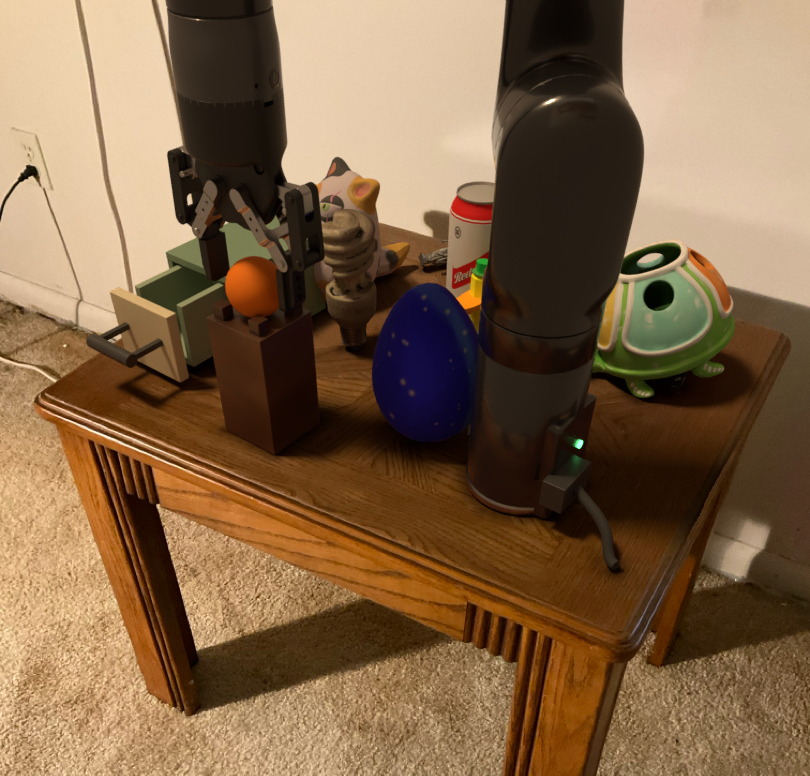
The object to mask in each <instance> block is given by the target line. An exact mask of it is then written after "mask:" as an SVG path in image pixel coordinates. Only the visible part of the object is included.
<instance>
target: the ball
mask: <svg viewBox="0 0 810 776" xmlns="http://www.w3.org/2000/svg"><path fill="white" fill-rule="evenodd" d="M277 269H278V268H277V266H276V265H275V264H274V263H272V262H271V261H269V260H268V259H266V258H263V257H259V256H249V257H245V258H242V259H240V260H238V261H237V262H236V263H235V264H234V265H233V266H232V267H231V268H230V270H229V272H228V274H227V276H226V281H225V289H226V295H227V297H228V300H229V302H230V303H231V305H232V306H233V307H234V308H235V309H236V310H237V311H238V312H239V313H241V314H243V315H245V316H247V317H251V318H252V317H254V316H256V315H260V316H262V317H267V316H269V315H271V314H273V313H274V312H275V311H276V310H277V309H278V308H279V301H278V291H277V281H276V271H275V270H277Z"/></svg>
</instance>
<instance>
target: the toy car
mask: <svg viewBox="0 0 810 776" xmlns="http://www.w3.org/2000/svg"><path fill="white" fill-rule="evenodd" d="M689 372H690V370H689V371H686V372H683V373H680V374H677V375H673V376H669V377H664V378H659V379H649V380H650V382H651V383H652V384H653V385H654V386H657V387H659V388H662V389H665V390H672V391H673V390H678V389H681V388H682V387H683V384H684V381H685V380H686V378H687V376H688V374H689Z"/></svg>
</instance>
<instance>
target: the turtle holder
mask: <svg viewBox="0 0 810 776" xmlns="http://www.w3.org/2000/svg"><path fill="white" fill-rule="evenodd" d="M651 254H658V255H660V256H659V257H658V258H656V259H654V260H652V261H648V262H647V261H646V262H639V261H640V260H641V259H643V258H644V257H646V256H648V255H651ZM733 310H734V300H733V298H732V296H731V295H730V292H729V289H728V286H727V284H726V282H725V280H724V278H723V277H722V275H721V273H720V272H719V270H718V269H717V267H715V266H714V265H713V263H712V262H711V261H709V260H708V259H707V257H705V256H704V255H702V254H701V253H700V252H698V251H696V250H695V249H692V248H690V247H688V246H687V244H685V242H684V241H682V240H680V239H675V238H674V239H673V238H669V239H664V240H663V239H662V240H659V241H654V242H650V243H648V244H644V245H641V246H639V247H636V248H634V249H631V250H629V251H626V252H625V255H624V259H623V264H622V268H621V271H620V275H619V278H618V281H617V284H616V286H615V288H614V290H613V291H612V293H611V294H610V296H609V297H608V299H607V302H606V307H605V312H604V316H603V321H602V326H601V331H600V336H599V341H598V346H597V351H596V355H595V360H594V366H593V371H592V374H594V373H595V374H597V373H604V374H609V375H611V376H613V377H616V378H620V379H623V380H625V385H626V388H627V389H628V390H629V392H630V393H631V394H632V396H634V397H636V398H639V399H646V398H647V399H648V398H651V397H653V396H654V395H655V390H654V389H653V387H652V386H650V385H649V384H648V383H646V381H647V380H648V381H649V380H650V379H659V378H664V377H669V376H673V375H677V374H680V373H683V372H686V371H689V372H691V374H692V375H694V376H695V377H698V378H713V377H715V376H717V375H720V374H722V373H723V372H724V370H725V366H724V365H723V364H721V363H719V362H716V361H715V362H714V361H710V360H711V359H713V358H714V357H716V355H718V354H719V353H720V352H721V351H723V350H724V349H725V348H726V347H727V346H728V345H729V344H730V342H731V341H732V339H733V337H734V335H735V332H736V331H735V330H736V321H735V317H734V315H733ZM645 380H646V381H645Z"/></svg>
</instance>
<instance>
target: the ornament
mask: <svg viewBox="0 0 810 776" xmlns="http://www.w3.org/2000/svg"><path fill="white" fill-rule="evenodd" d="M379 332H380V333H379V334H378V337H377V341H376V344H375V347H374V352H373V357H372V364H371V381H372V382H371V384H372V391H373V395H374V398H375V402H376V404H377V406H378V408H379V411H380V412H381V415H382V416H383V417H384V419H385V420H386V421H387V422H388V424H389V425H390V426H391V427H392V428H393V429H394V430H395V431H396V432H397V433H398V434H400V435H402V436H404V437H405V438H408V439H410V440H412V441H415V442H421V443H438V442H442V441H445V440H448V439H450V438H453V437H456V436H457V435H458V434H460V433H462V432H464V431H465V430H466V429H468V425H469V424H471V416H472V404H473V391H474V379H475V367H476V355H477V342H478V333H477V330H476V328H475V326H474V324H473V322H472V320H471V319H470V317H469V315H468V314H467V312H466V311H465V309H464V307H463V306H462V305H461V304H460V302H459V301H458V300H457V299H456V297H455V296H454V295H453V294H452V293H451V292H450V291H449V290H448V289H447V288H446V286H443V285H442V284H440V283H436V282H424V283H420V284H417V285H414V286H413V287H411V288H410V289H408V290H406V291H405V292H404V293H403V294H402V295H401V296H400V297H399V298H398V299H397V301H396V302H395V303H394V305H392V308H391V309H390V311H389V312H388V315H386V318H385V320H384V322H383V324H382V327H381V329H380V331H379Z"/></svg>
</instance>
